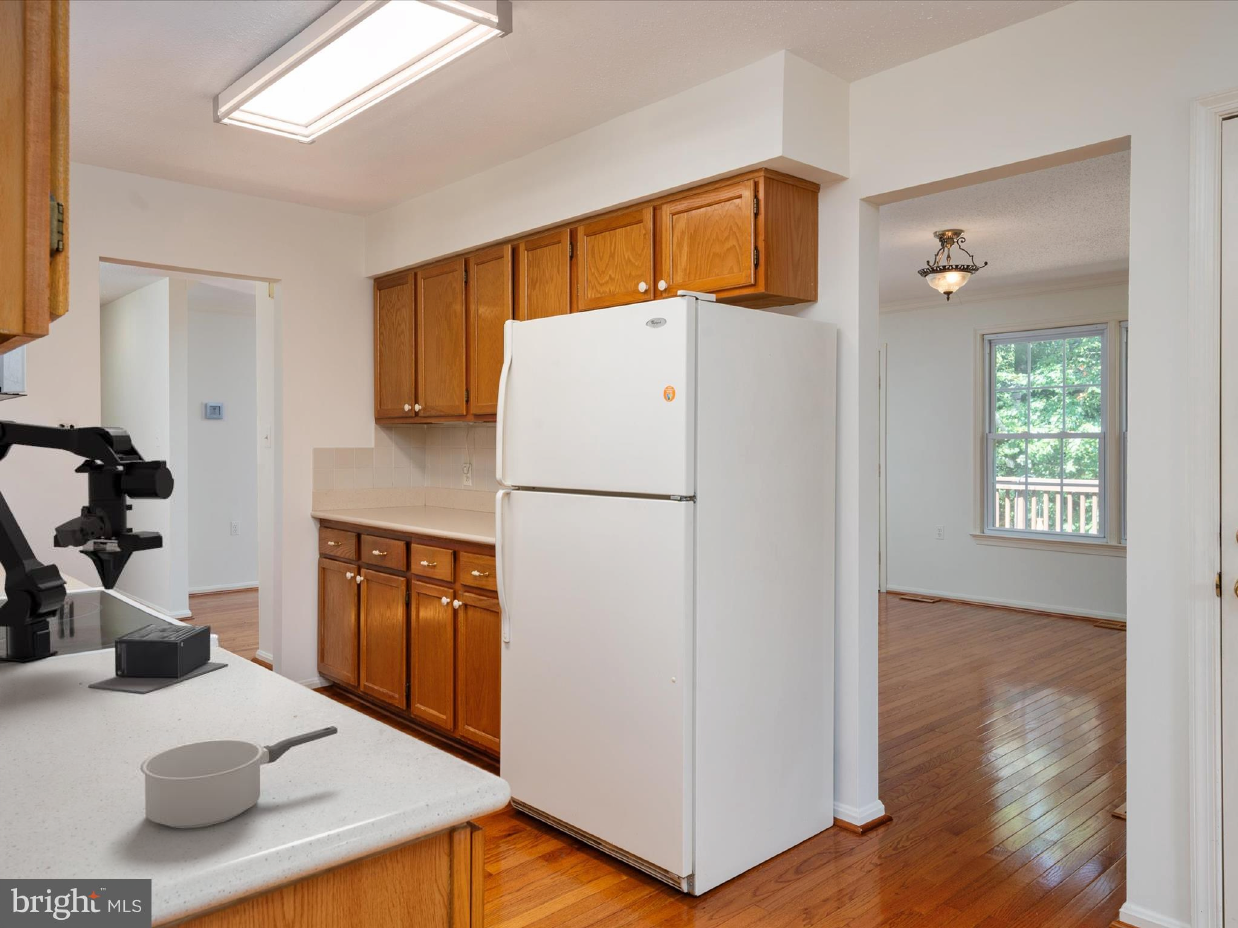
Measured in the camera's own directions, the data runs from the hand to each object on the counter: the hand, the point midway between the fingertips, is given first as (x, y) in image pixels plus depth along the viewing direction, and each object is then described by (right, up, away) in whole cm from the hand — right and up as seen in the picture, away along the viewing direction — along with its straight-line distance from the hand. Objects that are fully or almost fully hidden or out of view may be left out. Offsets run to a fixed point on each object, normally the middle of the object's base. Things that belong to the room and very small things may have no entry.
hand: (108, 589), depth 151 cm
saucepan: (+49, -14, -58) cm, 77 cm away
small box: (+9, -9, -8) cm, 15 cm away
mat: (+15, -12, -11) cm, 22 cm away
